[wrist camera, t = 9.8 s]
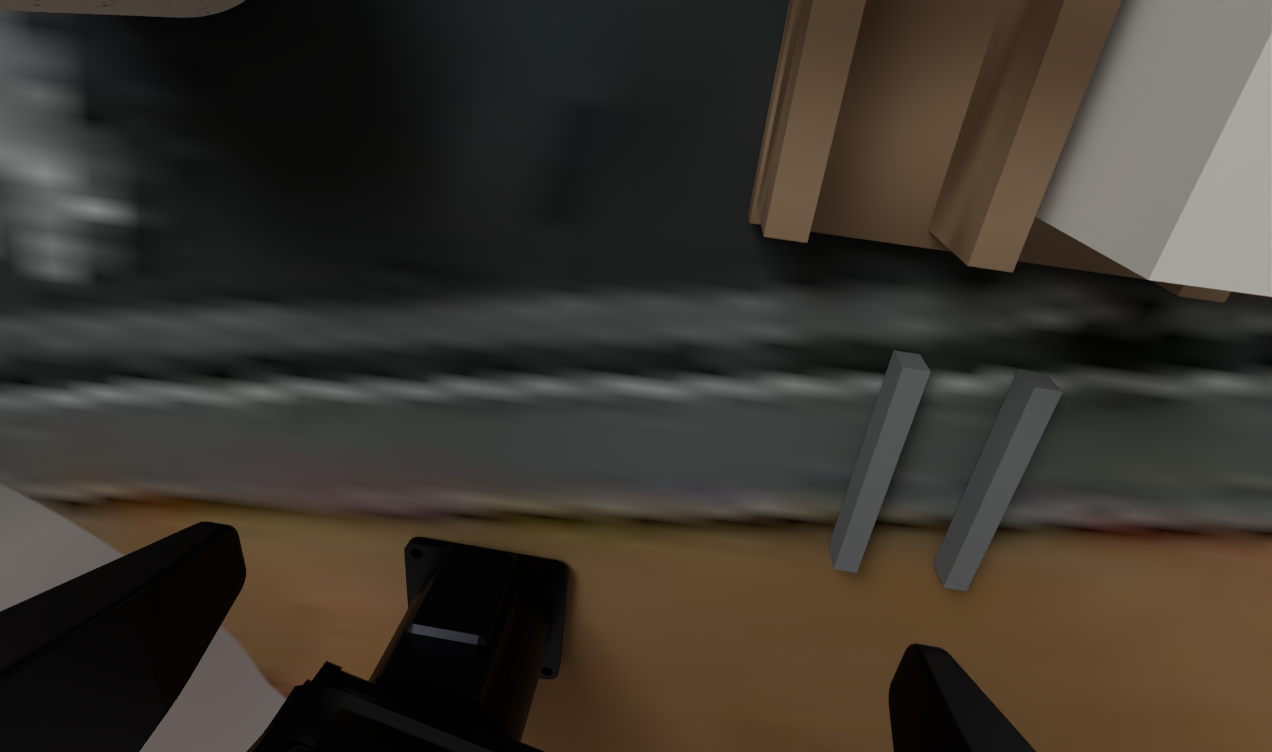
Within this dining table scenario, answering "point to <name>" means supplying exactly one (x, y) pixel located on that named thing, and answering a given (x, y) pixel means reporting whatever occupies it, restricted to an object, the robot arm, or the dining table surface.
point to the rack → (932, 126)
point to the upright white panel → (1175, 146)
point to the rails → (987, 485)
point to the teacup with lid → (124, 7)
